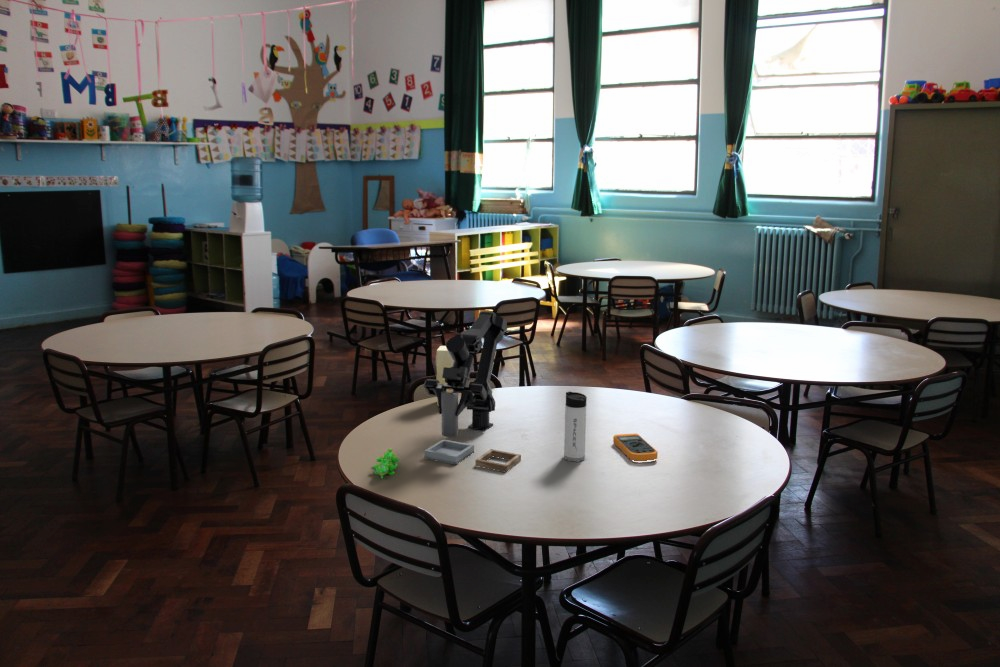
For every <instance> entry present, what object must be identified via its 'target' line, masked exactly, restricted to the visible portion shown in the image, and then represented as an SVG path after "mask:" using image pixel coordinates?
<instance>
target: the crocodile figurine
mask: <svg viewBox="0 0 1000 667" xmlns="http://www.w3.org/2000/svg"><path fill="white" fill-rule="evenodd" d="M392 451H393V448H392V447H390V448H388V449H387V451H386V452H384V453H383V455H380V456H379V457H378V458H376V462H378V463H376V464H374V465H373V466H372V468H373V469H374V470H375V471H374V474H375V475H379V476H380V477H379V478H380V479H385V477H384V476H386V475H387V474H388V475H389V476H391V475H395V470H396V469H397V467H398V462H399V461H400V458H398V457H397V455H396V453H394V452H392Z"/></svg>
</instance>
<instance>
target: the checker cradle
mask: <svg viewBox="0 0 1000 667" xmlns="http://www.w3.org/2000/svg"><path fill="white" fill-rule="evenodd" d="M492 456H494V457H492ZM491 457H492V458H495V457H499V458H498V459H500V458H504V459H503V460H505V459H509V460H507V462H506V463H501V462H496V461H490V459H492V458H491ZM489 458H490V459H489ZM488 459H489V460H488ZM487 460H488V461H487ZM474 461H475V467H476V466H480V467H479V468H481V467H485V468H484V469H486V468H489V469H488V470H491V469H495V470H494V471H496V470H499V471H498V472H501V471H505V472H504V473H508V472H509V471H510V470H511V469H513V468H514V467H515V466H517V465H518V464H519V463H521V461H522V455H521V453H520V454H518V453H513V452H508V451H503V450H499V449H498V450H497V449H489V450H487V451H486V452H485V453H483V454H482V455H481V456H479V457H477V458H476V459H475V460H474ZM517 463H518V464H517ZM516 464H517V465H516ZM513 466H514V467H513ZM512 467H513V468H512ZM509 469H510V470H509ZM508 470H509V471H508ZM507 471H508V472H507Z"/></svg>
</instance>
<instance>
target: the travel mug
mask: <svg viewBox="0 0 1000 667" xmlns="http://www.w3.org/2000/svg"><path fill="white" fill-rule="evenodd" d="M587 400H588V399H587V396H586V395H585V394H583V393H581V392H575V391H566V392H565V404H564V405H565V410H564V446H563V449H564V450H563V457H564V459H565V460H566V459H567V460H566V461H569V462H580V461H581V460H582V461H583V460H584V459H585V458H586V454H585V453H586V435H587V434H586V431H587V430H586V428H587V407H588V406H587Z"/></svg>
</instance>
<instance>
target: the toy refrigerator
mask: <svg viewBox="0 0 1000 667" xmlns="http://www.w3.org/2000/svg"><path fill="white" fill-rule="evenodd" d="M453 363H454V360H453V359H452V358H451V356H450V354H449V352H448V350H447V348H446V345H440V346H439V347H438V348H437V349H436V355H435V366H436V375H435V376H436V379H435V380H438V381H439V382H440V384H443V385H447V383H446V382H445V378H442V375H443V368H444V367H447V368H451V367H452V366H453ZM436 399H437V400H436V401H437V403H436V404H437V406H438V398H436Z"/></svg>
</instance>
